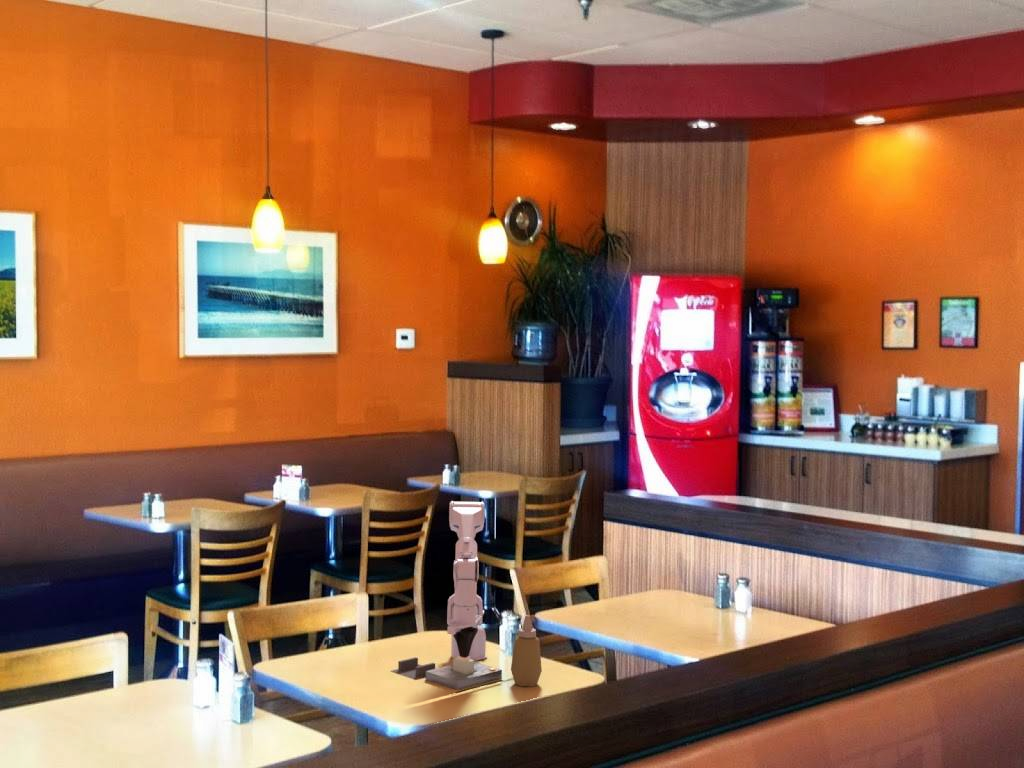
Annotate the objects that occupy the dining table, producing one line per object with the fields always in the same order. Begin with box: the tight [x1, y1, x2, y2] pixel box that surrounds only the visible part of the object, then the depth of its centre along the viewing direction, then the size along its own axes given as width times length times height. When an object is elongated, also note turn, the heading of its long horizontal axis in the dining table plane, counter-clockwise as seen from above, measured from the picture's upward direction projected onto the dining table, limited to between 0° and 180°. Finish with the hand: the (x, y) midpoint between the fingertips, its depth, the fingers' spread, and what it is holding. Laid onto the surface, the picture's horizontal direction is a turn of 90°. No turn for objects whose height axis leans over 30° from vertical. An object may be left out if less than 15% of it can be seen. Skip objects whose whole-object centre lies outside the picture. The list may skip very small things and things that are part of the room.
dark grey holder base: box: [390, 656, 436, 680], centre depth 336 cm, size 10×10×3 cm
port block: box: [425, 660, 503, 694], centre depth 330 cm, size 16×12×3 cm
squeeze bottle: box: [510, 615, 543, 687], centre depth 329 cm, size 8×8×18 cm
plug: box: [452, 655, 475, 675], centre depth 330 cm, size 3×5×7 cm, turn 44°
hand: (464, 656), depth 330 cm, fingers closed
